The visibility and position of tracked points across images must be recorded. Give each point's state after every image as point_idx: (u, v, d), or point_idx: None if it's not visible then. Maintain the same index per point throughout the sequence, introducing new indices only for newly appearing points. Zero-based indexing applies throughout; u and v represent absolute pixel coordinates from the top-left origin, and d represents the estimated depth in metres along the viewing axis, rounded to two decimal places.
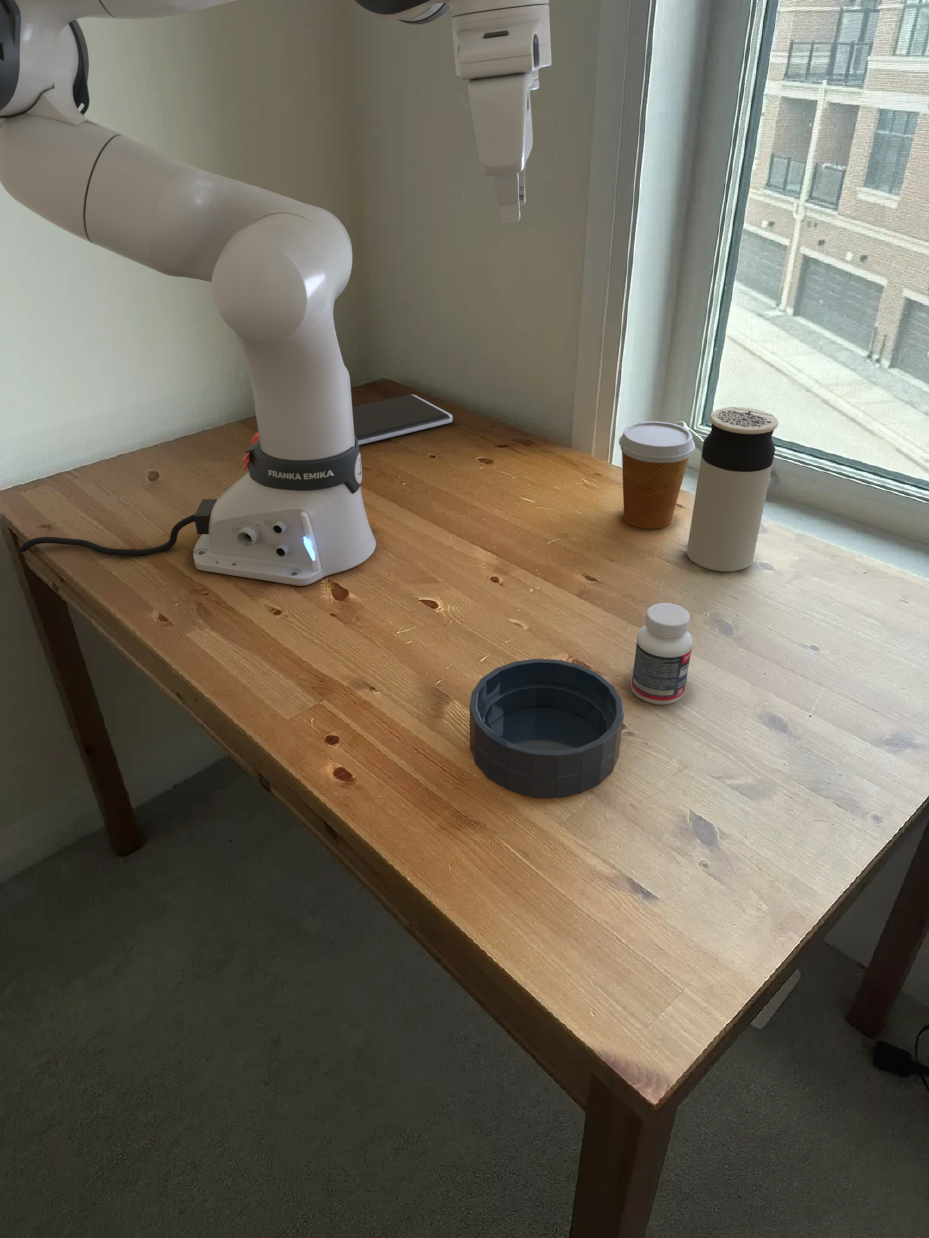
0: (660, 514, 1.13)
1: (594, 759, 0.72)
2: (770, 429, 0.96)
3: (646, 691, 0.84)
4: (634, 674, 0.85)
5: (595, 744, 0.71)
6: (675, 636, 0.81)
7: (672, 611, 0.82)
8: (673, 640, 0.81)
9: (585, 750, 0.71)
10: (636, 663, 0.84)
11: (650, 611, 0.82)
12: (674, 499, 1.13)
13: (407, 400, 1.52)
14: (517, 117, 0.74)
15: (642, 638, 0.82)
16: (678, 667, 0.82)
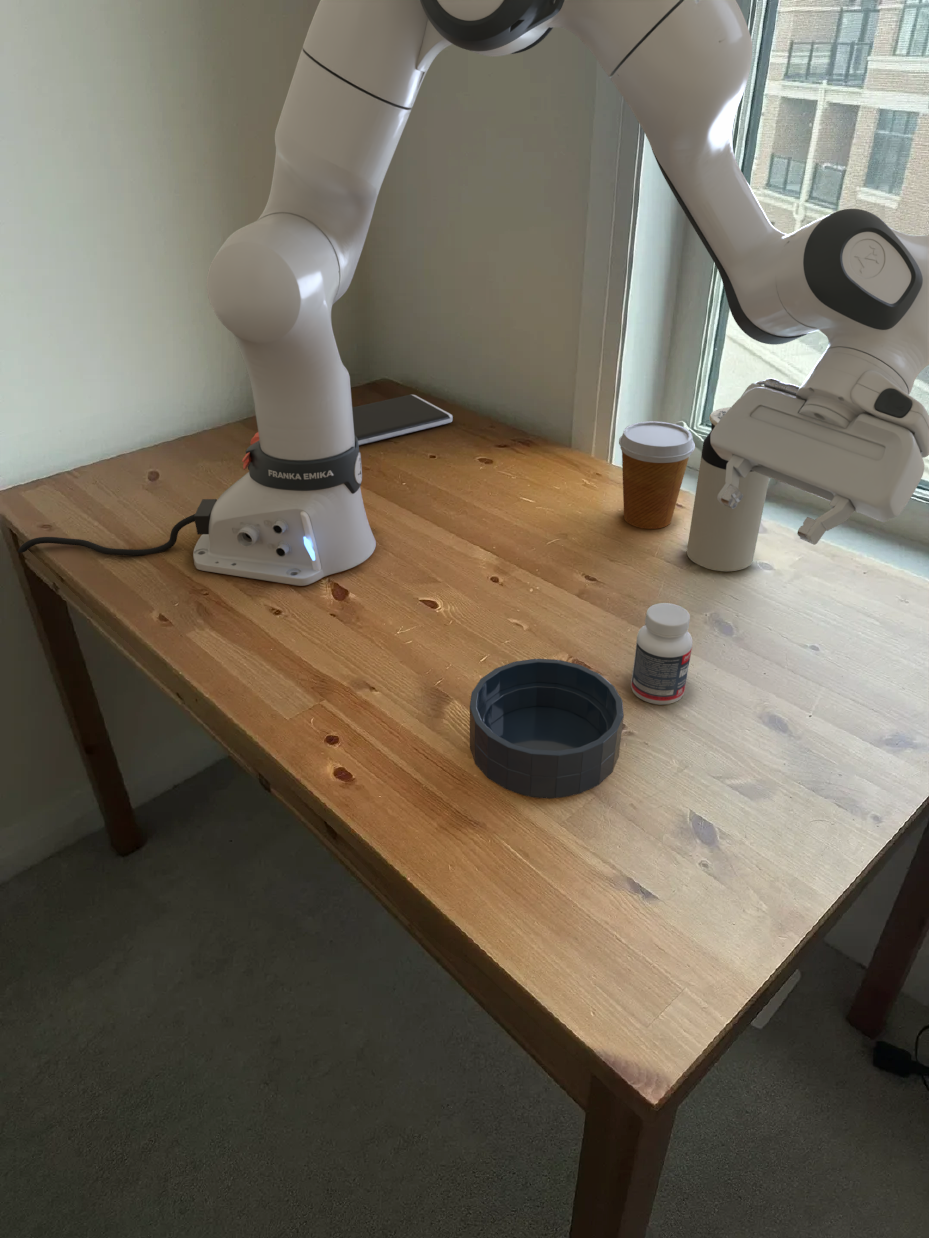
0: (660, 514, 1.13)
1: (594, 759, 0.72)
2: None
3: (646, 691, 0.84)
4: (634, 674, 0.85)
5: (595, 744, 0.71)
6: (675, 636, 0.81)
7: (672, 611, 0.82)
8: (673, 640, 0.81)
9: (585, 750, 0.71)
10: (636, 663, 0.84)
11: (650, 611, 0.82)
12: (674, 499, 1.13)
13: (407, 400, 1.52)
14: (916, 485, 0.79)
15: (642, 638, 0.82)
16: (678, 667, 0.82)
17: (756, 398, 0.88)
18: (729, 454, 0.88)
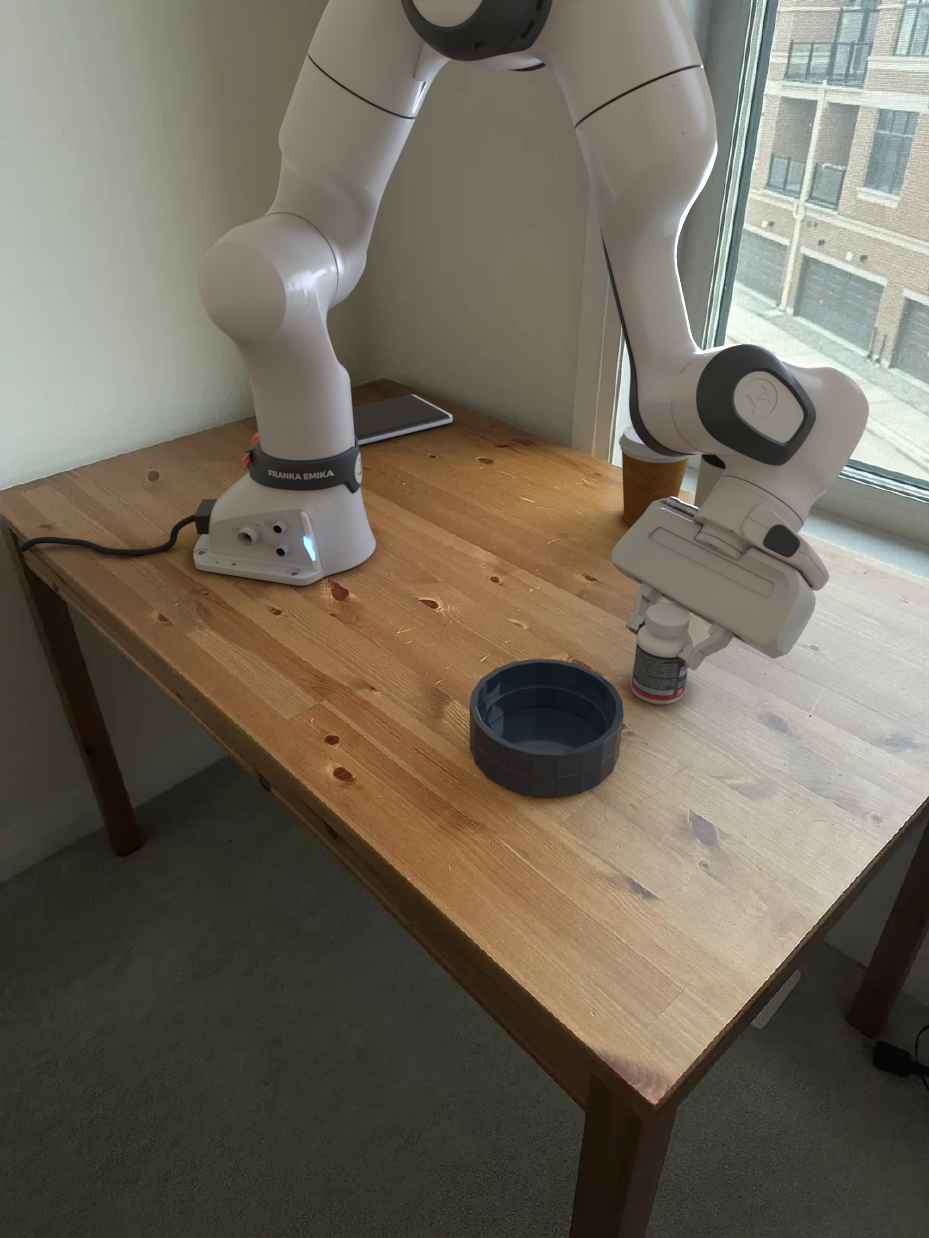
0: None
1: (594, 759, 0.72)
2: None
3: (646, 691, 0.84)
4: (634, 674, 0.85)
5: (595, 744, 0.71)
6: (675, 636, 0.81)
7: (672, 611, 0.82)
8: (673, 640, 0.81)
9: (585, 750, 0.71)
10: (636, 663, 0.84)
11: (650, 611, 0.82)
12: None
13: (407, 400, 1.52)
14: (806, 622, 0.77)
15: (642, 638, 0.82)
16: (678, 667, 0.82)
17: (656, 519, 0.86)
18: (629, 575, 0.87)
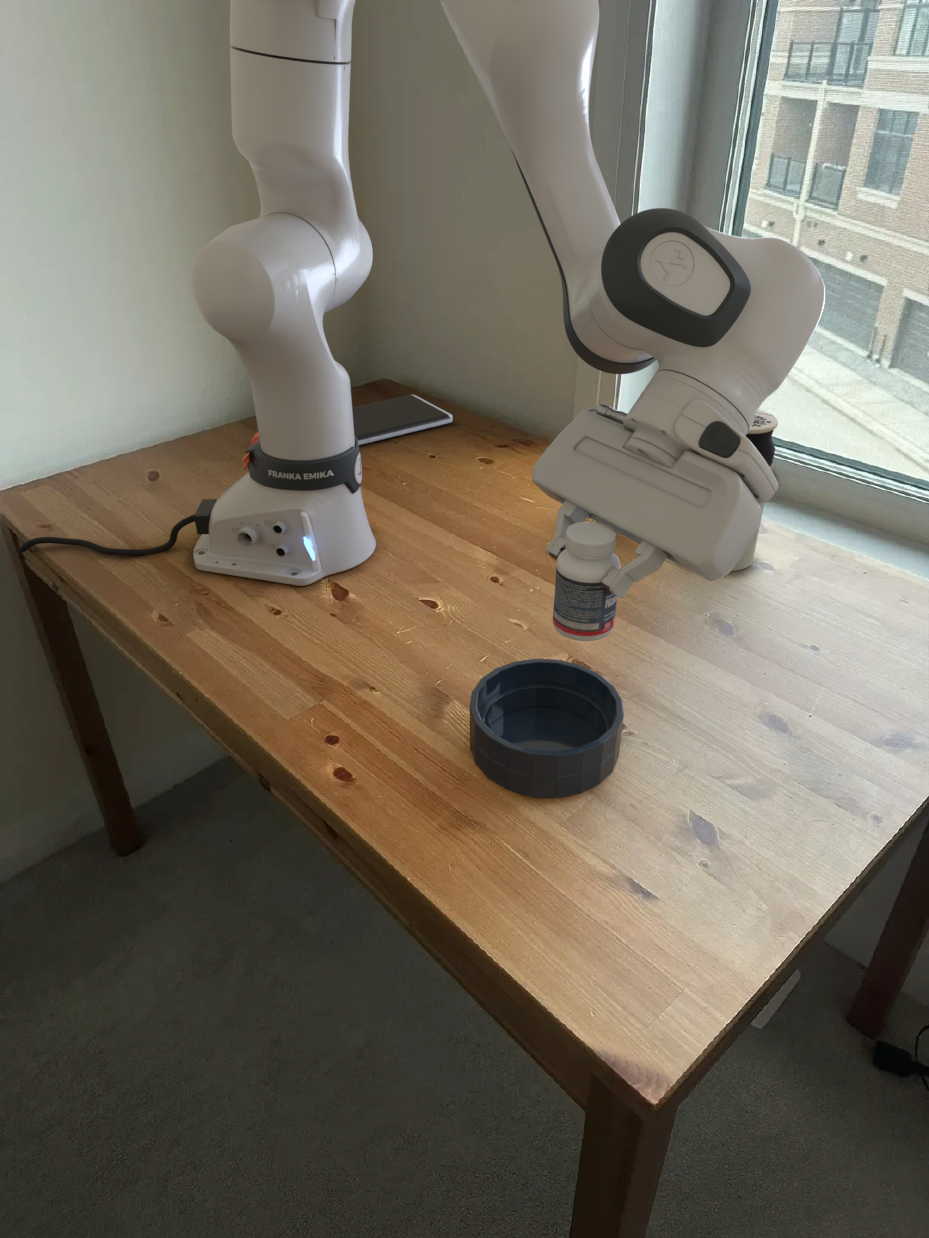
0: None
1: (594, 759, 0.72)
2: (770, 429, 0.96)
3: (567, 625, 0.72)
4: (554, 606, 0.73)
5: (595, 744, 0.71)
6: (598, 558, 0.69)
7: (596, 530, 0.70)
8: (596, 562, 0.69)
9: (585, 750, 0.71)
10: (556, 592, 0.72)
11: (570, 530, 0.70)
12: None
13: (407, 400, 1.52)
14: (749, 538, 0.65)
15: (561, 561, 0.70)
16: (603, 595, 0.70)
17: (582, 428, 0.74)
18: (552, 494, 0.75)
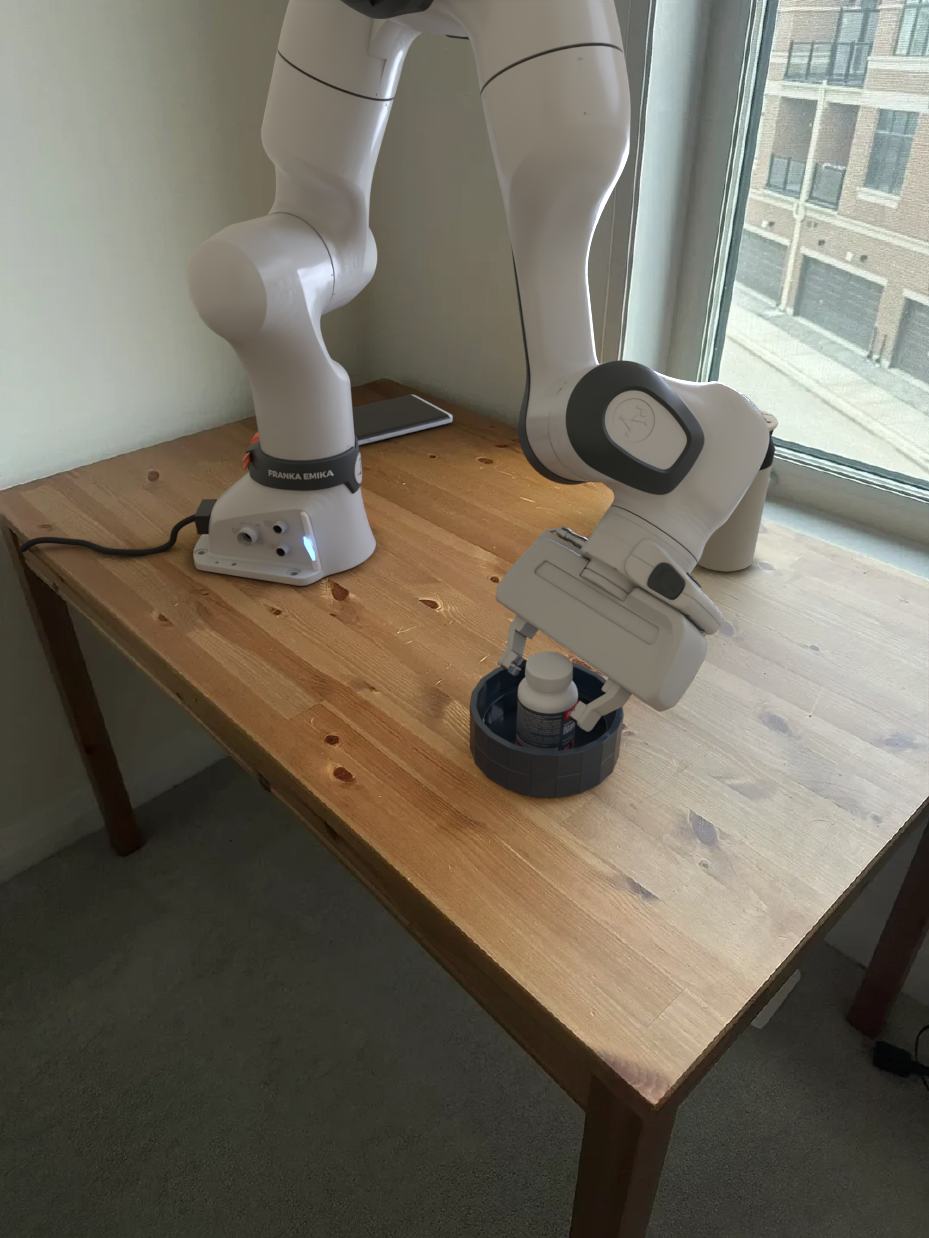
0: None
1: (594, 759, 0.72)
2: (770, 429, 0.96)
3: None
4: (517, 729, 0.77)
5: (595, 744, 0.71)
6: (556, 690, 0.73)
7: (554, 662, 0.74)
8: (554, 694, 0.73)
9: (585, 750, 0.71)
10: (518, 717, 0.76)
11: (530, 662, 0.74)
12: None
13: (407, 400, 1.52)
14: (695, 671, 0.69)
15: (522, 691, 0.74)
16: (561, 723, 0.74)
17: (542, 552, 0.78)
18: None
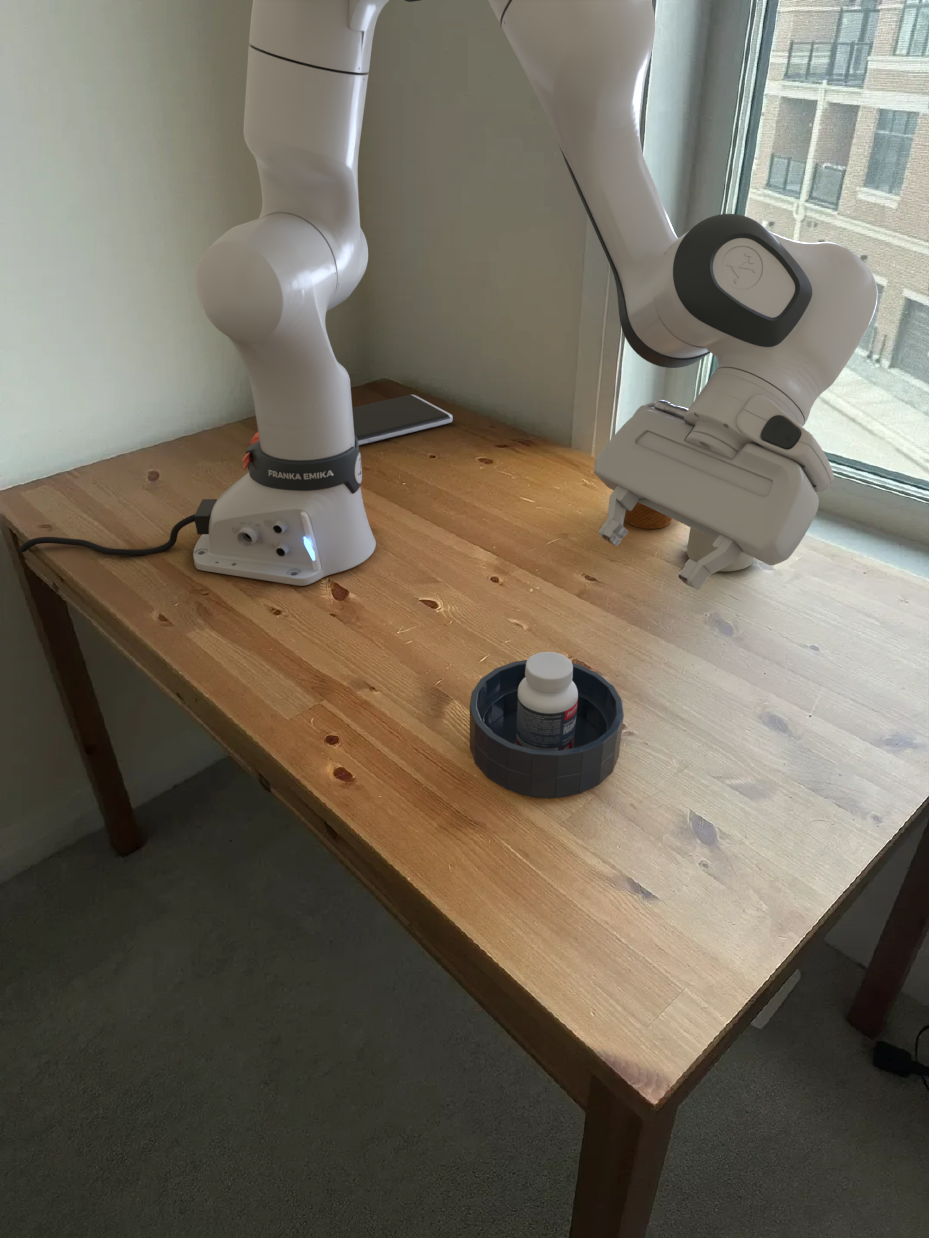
0: (660, 514, 1.13)
1: (594, 759, 0.72)
2: None
3: None
4: (517, 729, 0.77)
5: (595, 744, 0.71)
6: (556, 690, 0.73)
7: (554, 662, 0.74)
8: (554, 694, 0.73)
9: (585, 750, 0.71)
10: (518, 717, 0.76)
11: (530, 662, 0.74)
12: None
13: (407, 400, 1.52)
14: (808, 525, 0.70)
15: (522, 691, 0.74)
16: (561, 723, 0.74)
17: (643, 423, 0.79)
18: (614, 485, 0.79)
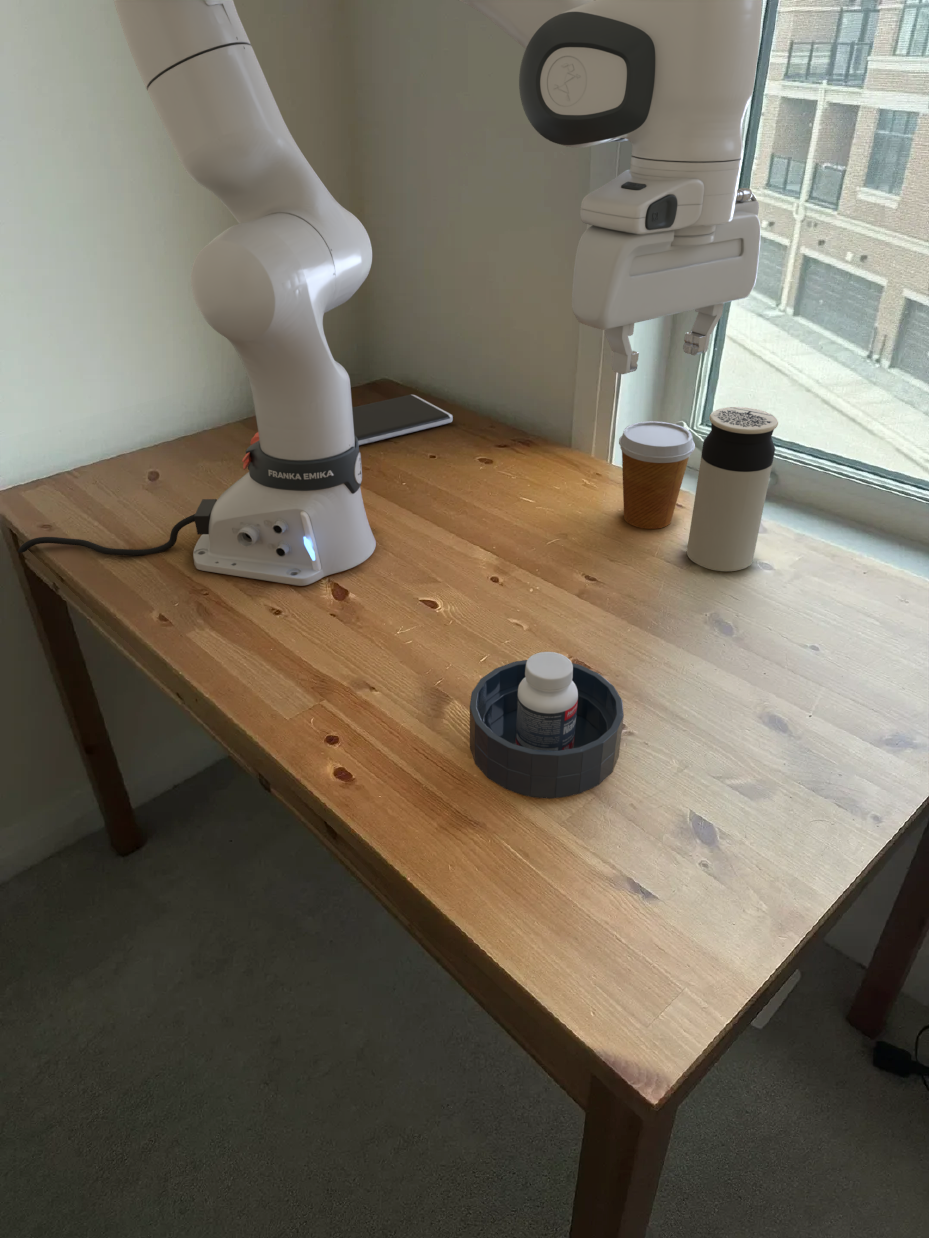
0: (660, 514, 1.13)
1: (594, 759, 0.72)
2: (770, 429, 0.96)
3: None
4: (517, 729, 0.77)
5: (595, 744, 0.71)
6: (556, 690, 0.73)
7: (554, 662, 0.74)
8: (554, 694, 0.73)
9: (585, 750, 0.71)
10: (518, 717, 0.76)
11: (530, 662, 0.74)
12: (674, 499, 1.13)
13: (407, 400, 1.52)
14: (605, 276, 0.69)
15: (522, 691, 0.74)
16: (561, 723, 0.74)
17: None
18: None
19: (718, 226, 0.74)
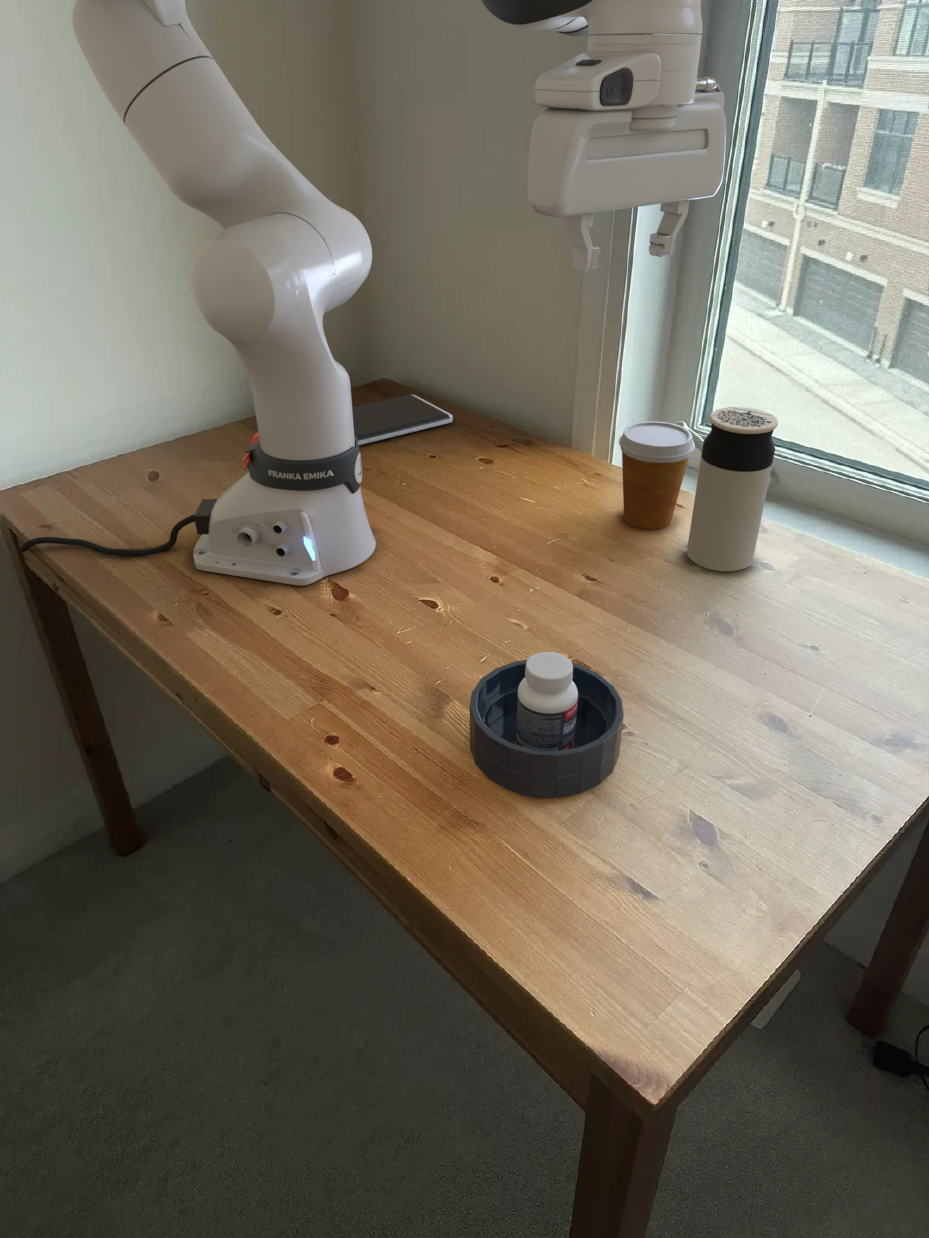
0: (660, 514, 1.13)
1: (594, 759, 0.72)
2: (770, 429, 0.96)
3: None
4: (517, 729, 0.77)
5: (595, 744, 0.71)
6: (556, 690, 0.73)
7: (554, 662, 0.74)
8: (554, 694, 0.73)
9: (585, 750, 0.71)
10: (518, 717, 0.76)
11: (530, 662, 0.74)
12: (674, 499, 1.13)
13: (407, 400, 1.52)
14: (559, 157, 0.67)
15: (522, 691, 0.74)
16: (561, 723, 0.74)
17: None
18: None
19: (680, 113, 0.72)
